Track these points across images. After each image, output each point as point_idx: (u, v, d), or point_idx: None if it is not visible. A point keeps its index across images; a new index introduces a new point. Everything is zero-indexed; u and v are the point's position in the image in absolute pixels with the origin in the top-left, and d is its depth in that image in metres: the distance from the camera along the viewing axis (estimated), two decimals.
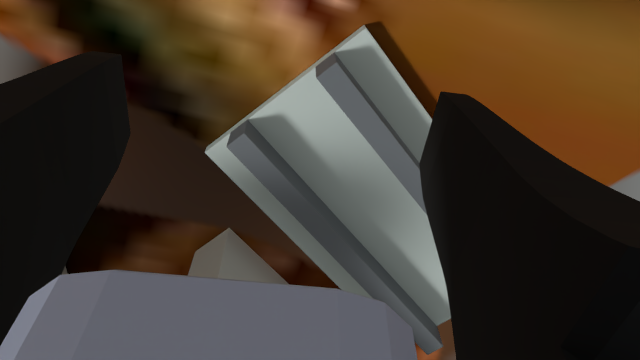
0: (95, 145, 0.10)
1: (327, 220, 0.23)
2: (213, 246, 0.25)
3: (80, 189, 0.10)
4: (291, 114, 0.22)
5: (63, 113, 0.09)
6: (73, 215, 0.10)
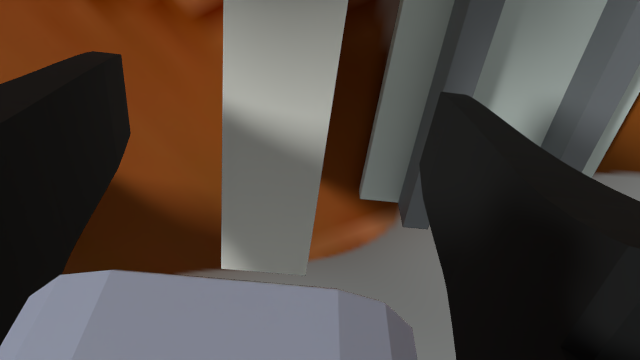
0: (95, 145, 0.10)
1: None
2: None
3: (80, 189, 0.10)
4: None
5: (63, 113, 0.09)
6: (73, 215, 0.10)
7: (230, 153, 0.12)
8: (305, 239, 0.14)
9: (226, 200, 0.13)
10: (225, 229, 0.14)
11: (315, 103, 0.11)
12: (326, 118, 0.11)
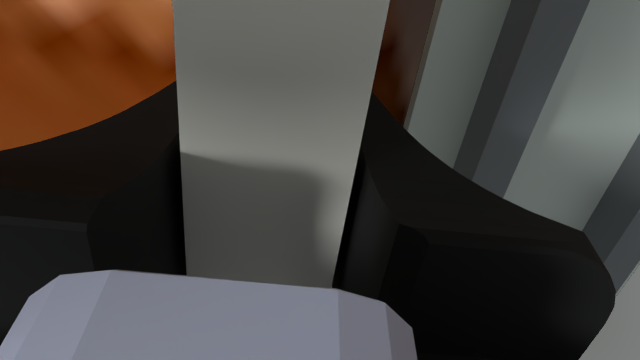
0: None
1: None
2: None
3: None
4: None
5: None
6: None
7: None
8: None
9: None
10: None
11: (318, 235, 0.08)
12: (333, 253, 0.08)
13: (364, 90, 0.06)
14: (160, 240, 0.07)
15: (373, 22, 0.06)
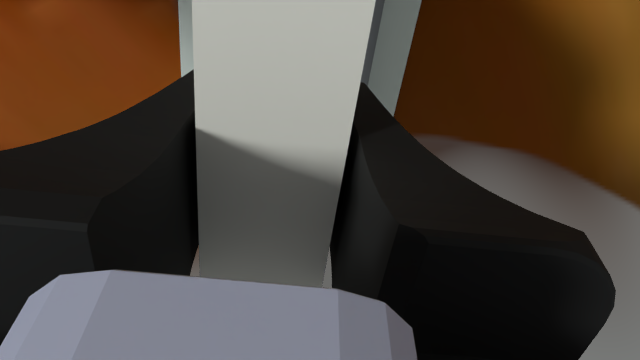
0: None
1: None
2: None
3: None
4: None
5: None
6: (196, 226, 0.10)
7: (209, 246, 0.09)
8: None
9: None
10: None
11: (318, 189, 0.09)
12: (332, 207, 0.09)
13: (359, 50, 0.07)
14: (160, 240, 0.07)
15: None
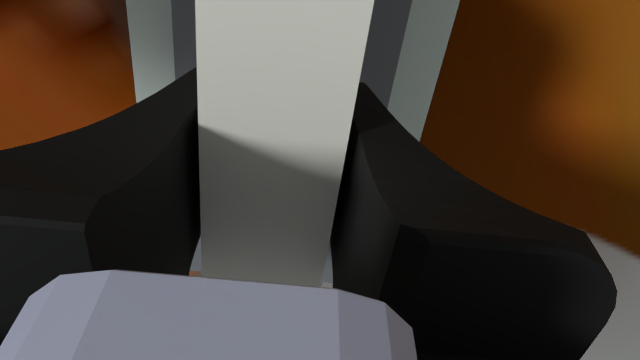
0: None
1: None
2: None
3: None
4: None
5: None
6: (195, 226, 0.10)
7: (211, 239, 0.10)
8: None
9: None
10: None
11: (318, 182, 0.09)
12: (332, 200, 0.09)
13: (359, 45, 0.07)
14: (159, 240, 0.07)
15: None
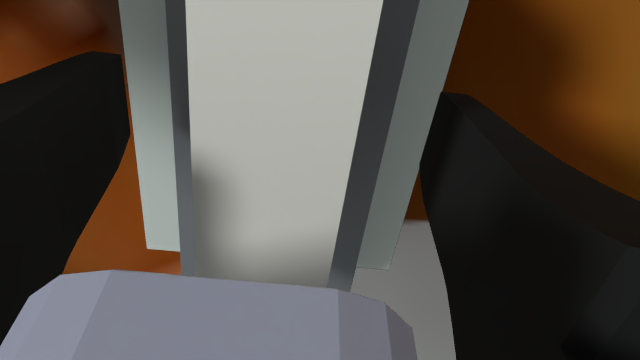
0: (95, 145, 0.10)
1: None
2: None
3: (80, 189, 0.10)
4: None
5: (63, 113, 0.09)
6: (73, 215, 0.10)
7: (205, 264, 0.09)
8: None
9: None
10: None
11: (320, 206, 0.08)
12: (334, 224, 0.08)
13: (363, 63, 0.07)
14: None
15: None
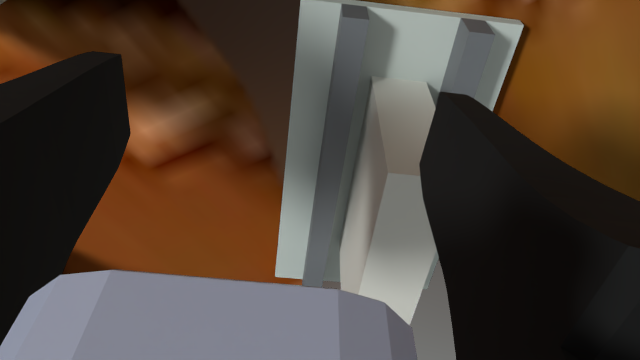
0: (95, 145, 0.10)
1: (346, 145, 0.22)
2: (408, 89, 0.21)
3: (80, 189, 0.10)
4: (403, 36, 0.21)
5: (63, 113, 0.09)
6: (73, 215, 0.10)
7: None
8: None
9: None
10: None
11: (418, 273, 0.19)
12: (423, 280, 0.19)
13: None
14: None
15: None
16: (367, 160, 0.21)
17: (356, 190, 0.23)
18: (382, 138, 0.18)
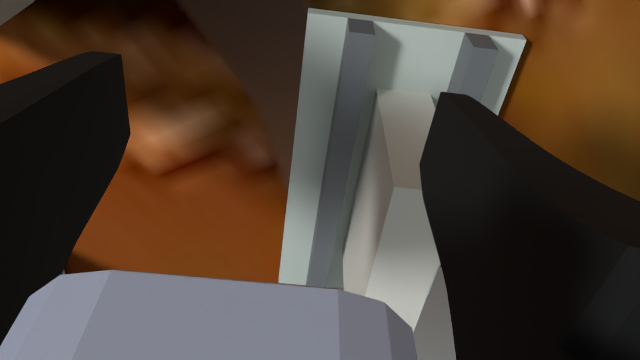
0: (95, 145, 0.10)
1: (351, 156, 0.23)
2: (412, 101, 0.22)
3: (80, 189, 0.10)
4: (407, 50, 0.21)
5: (63, 113, 0.09)
6: (73, 215, 0.10)
7: None
8: None
9: None
10: None
11: (422, 283, 0.19)
12: (427, 290, 0.20)
13: None
14: None
15: None
16: (372, 171, 0.21)
17: (360, 200, 0.23)
18: (388, 152, 0.18)
